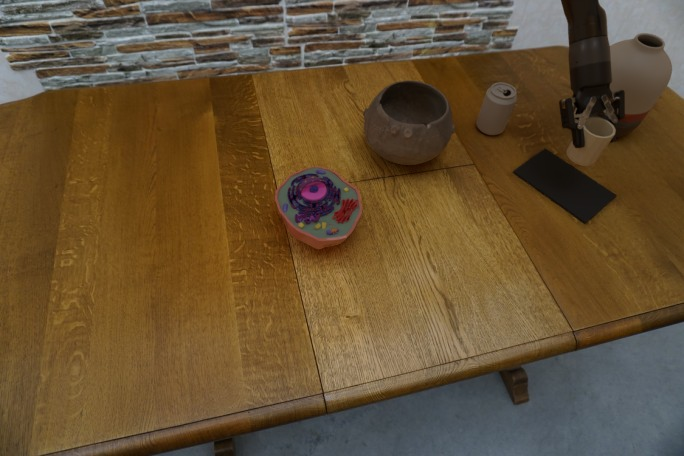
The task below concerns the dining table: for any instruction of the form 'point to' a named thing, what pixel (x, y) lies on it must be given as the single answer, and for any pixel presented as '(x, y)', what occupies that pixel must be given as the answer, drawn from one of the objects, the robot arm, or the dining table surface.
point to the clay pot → (408, 122)
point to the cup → (592, 141)
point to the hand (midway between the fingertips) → (595, 144)
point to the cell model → (319, 206)
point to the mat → (565, 185)
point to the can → (496, 108)
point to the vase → (638, 77)
